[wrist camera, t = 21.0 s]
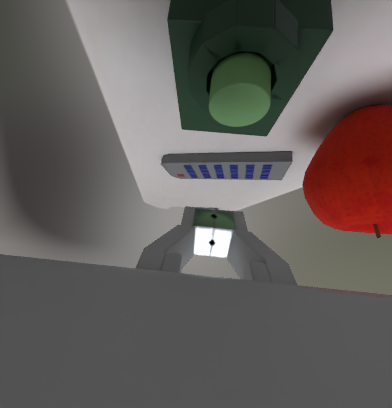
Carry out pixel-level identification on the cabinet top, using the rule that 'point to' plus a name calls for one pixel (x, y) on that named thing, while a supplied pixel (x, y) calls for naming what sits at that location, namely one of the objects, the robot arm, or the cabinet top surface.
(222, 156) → the remote control
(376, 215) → the apple
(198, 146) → the cabinet top surface
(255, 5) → the button base
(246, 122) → the light green button cap
